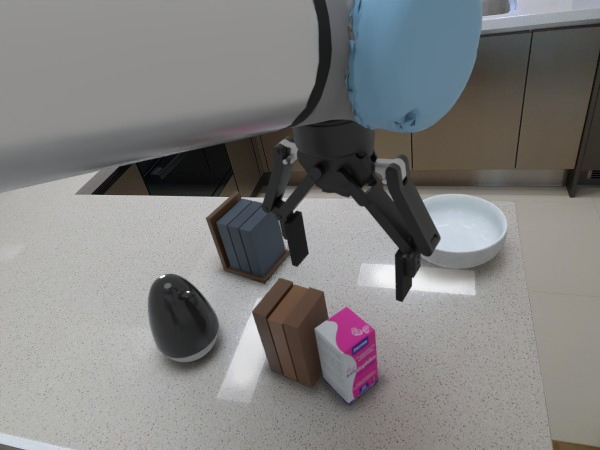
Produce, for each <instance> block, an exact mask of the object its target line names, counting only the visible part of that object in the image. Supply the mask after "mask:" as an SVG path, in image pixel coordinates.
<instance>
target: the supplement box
mask: <svg viewBox="0 0 600 450" xmlns="http://www.w3.org/2000/svg"><path fill="white" fill-rule="evenodd" d="M315 335H316V340H317V346H318V351H319V357H320V362H321V368H322V373H321V374H322V377H323V380H324V381H325V383H327V384H328V386H330V388H331V389H332V390H333V391H335V393H336V394H337V395H338V396H339V397H340V398H341V399H342V400H343V401H344V402H345V403H346V405H348V406H350V405H351V404H352V403H353V402H354V401H355V400H357V398H358V397H360V396H361V395H363V393H365V392H366V391H367V390H369V389H370V388H371V387H372V386H374V385H376V383H378V382H379V369H378V353H377V339H376V337H377V336H376V330H375V328H374V327H372V326H371V325H370V324H369V323H368V322H366V321H365V320H364V319H363V318H361V317H360V316H359V315H358V314H356V313H355V312H354V311H353V310H352V309H351V308H350V307H348V306H345V307H343V308H341V310H338V312H336V313H334V314H333V315H332V316H330V317H329V319H328V320H326V321H325V322H323V323H322V324H320V325H319V326H317V327H316V328H315Z"/></svg>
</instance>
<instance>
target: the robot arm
mask: <svg viewBox="0 0 600 450" xmlns="http://www.w3.org/2000/svg"><path fill="white" fill-rule="evenodd" d="M482 29H483V1H482V0H0V194H3V193H7V192H12V191H16V190H20V189H25V188H30V187H33V186H34V187H35V186H38V185H42V184H47V183H51V182H52V183H53V182H56V181H60V180H65V179H69V178H74V177H78V176H83V175H87V174H91V173H96V172H101V171H104V170H110V169H114V168H119V167H122V166H129V165H133V164H136V163H141V162H144V161H149V160H154V159H159V158H164V157H168V156H172V155H176V154H181V153H185V152H189V151H194V150H199V149H203V148H208V147H212V146H216V145H221V144H225V143H230V142H235V141H239V140H244V139H247V138H252V137H256V136H257V137H258V136H261V135H266V134H270V133H274V132H279V131H283V130H288V129H292V133H293V134H292V135H293V137H292V136H290V135H287V136H286V137H285V138H283V139H282V140H281V141H279V142H278V143H277V144H275V146H273V147H272V158H273V159H272V160H273V166H272V169H271V172H270V176H269V179H268V184H267V186H266V190H265V193H264V197H263V201H262V203H263V204H262V209H263V211H264V212H266V213H270V212H272V213H274V214H275V216H276V218H277V219H278V220H279V224H280V228H281V232H282V237H283V240H286V241H287V246H288V250H289V252H290V254H289V256H290V262H291V265H292V266H293V267H295V268H298V267H299V266H300V264H302V262H303V261H304V260H305V259H306V258H307V257H308V255H309V254H310V253H309V246H308V241H307V240H308V239H307V234H306V229H305V224H304V217H303V212H302V211H299V210H296V208H297V207H298V206H299V205H300V204H301V203H302V202H303V200H304V199H305V198H306V197H307V196H308V195H309V194H310V192H312V190H313V189H314V188H315V187H316V186H317V187H318V188H319V189H321V192H322V193H326V194H336V195H339V196H340V197H345V198H347V199H348V198H352V199H353V200H354V202H355V203H356V204H357V205H358V206H359V207H363V208H365V209H366V210H367V212H368V213H369V214H370V215H371V216H372V218H373V219H374V220H375V222H376V223H377V224H378V225H379V226H380V227H381V228H382V230H383V231H384V232H385V233H386V235H387V236H388V238H390V240H391V241H392V242H393V243H394V244H395V245H396V247H397V248H398V249H397V250H396V252H395V254H394V274H395V275H394V278H395V279H394V280H395V281H394V283H395V284H394V285H395V301H397V302H400V303H403V302H404V300H405V299H406V297H407V295H408V294H409V292H410V291H411V289H412V287H413V279H415V277H416V276H417V273H418V272H419V270H420V268H421V265H422V264H421V261H422V260H421V259H422V257H421V254H422V255H424V256H426V257H429V256H431V255H432V253H433V252H434V250H435V248H436V247H437V245H438V243H439V242H440V240H441V237H440V234H439V233H438V231H437V229H436V227H435V225H434V223H433V221H432V219H431V217H430V215H429V213H428V211H427V209H426V207H425V205H424V203H423V201H422V200H423V199H422V197H421V195H420V193H419V191H418V188H417V187H416V185H415V183H414V181H413V178H412V177H411V169H410V161H409V158H408V157H407V155H405V154H398V155H397V156H395V158H380V157H379V156H378V154H377V153H376V149H375V141H376V140H375V139H376V130H378V129H379V130H384V131H389V132H395V133H400V134H412V133H413V134H414V133H419V132H422V131H425V130H427V129H429V128H430V127H432V126H434V125H435V124H437V122H439V121H440V120H442V119H443V118H444V117H445V116H446V115H447V114H448V113H449V112H450V111H451V109H452V108H453V107H454V106H455V104H456V103H457V101H458V100H459V98H460V97H461V95H462V94H463V92H464V90H465V88H466V86H467V84H468V82H469V80H470V78H471V75H472V72H473V69H474V66H475V64H476V60H477V57H478V48H479V43H480V38H481V35H482V34H481V33H482ZM296 161H298V163H299V164H300V166H301V167H302V168H303V170H304V171H305V172H306V173H307V174H305V176H304V177H303V178H302V180H301V181H300V182H299V184H297V186H296V188H295V189H294V190H293V191H292V192H291V194H290V195H289V196H288V197H287V199H286V200H285V201H284V200H283V199H284V195H285V193H286V190H287V187H288V183H289V180H290V178H291V174H292V172H293V168H294V165H295V163H296ZM377 174H378V175H380V177H381V178H382V180H381V179H380V177H379V176H378V175H377ZM365 185H367V186H368V188H367V189H366V191H364V189H363V188H364V187H365ZM384 185H385V186H387V191H388V192H387V191H386V189H384ZM388 193H389V194H388ZM294 210H295V211H294Z"/></svg>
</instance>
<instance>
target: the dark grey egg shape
mask: <svg viewBox="0 0 600 450" xmlns="http://www.w3.org/2000/svg"><path fill="white" fill-rule="evenodd" d="M147 316H148V323H149V328H150V332H151V336H152V339H153V342H154V344H155V347H156V348H157V350H158V351H159V352H160V353H161V354H162V355H164V356H165V357H167V358H169V359H170V360H171V361H175V362H177V363H178V362H179V363H190V362H195V361H197V360H199V359H201V358H203V357H204V356H206V355H207V354H208V353H209V352H210V351H211V350H213V349H212V348H213V347H214V346H215V344H216V342H217V339H218V334H219V328H220V321H219V317H218V315H217V313H216V311H215V309H214V308H213V307H212V304H211V303H210V301H209V300H208V299H207V298H206V296H204V294H203V293H202V292H201V291H200V290H199V288H197V287H196V286H195V285H194V284H193V283H192V282H191V281H189V280H188V279H187V278H185V277H183V276H181V275H178V274H176V273H165V274H162V275H160V276H158V277H157V278H156V279H155V280H154V281H153V282H152V284H151V286H150V288H149V292H148V295H147Z"/></svg>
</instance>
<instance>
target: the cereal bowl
mask: <svg viewBox="0 0 600 450" xmlns="http://www.w3.org/2000/svg"><path fill="white" fill-rule="evenodd" d="M422 201H423V203H424V205H425V207H426V209H427V211H428V213H429V215H430V217H431V219H432V221H433V223H434V225H435V227H436V229H437V231H438V233H439V234H440V237H441V240H440V242H439V243H438V245H437V247H436V248H435V250H434V252H433V253H432V255H431V256H429V257H426V256H424V255H422V254H421V259H424V260H425V261H427V262H429V263H431V264H433V265H435V266H439V267H442V268H446V269H447V268H448V269H455V270H456V269H469V268H474V267H477V266H480V265H483V264H485V263H488V262H489V261H490V260H492V259H493V258H494V257H495V256H496V255H498V254H499V252H501V250H502V248H503V246H504V245H505V242H506V239H507V235H508V228H509V225H508V219H507V217H506V215H505V214H504V212H503V211H502V210H501V209H500V208H499V207H498V206H497V205H495V204H494V203H492V202H491V201H489V200H486V199H484V198H481V197H479V196H475V195H471V194H464V193H444V194H443V193H442V194H437V195H436V194H435V195H431V196H430V197H426V198H424V199H422Z"/></svg>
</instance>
